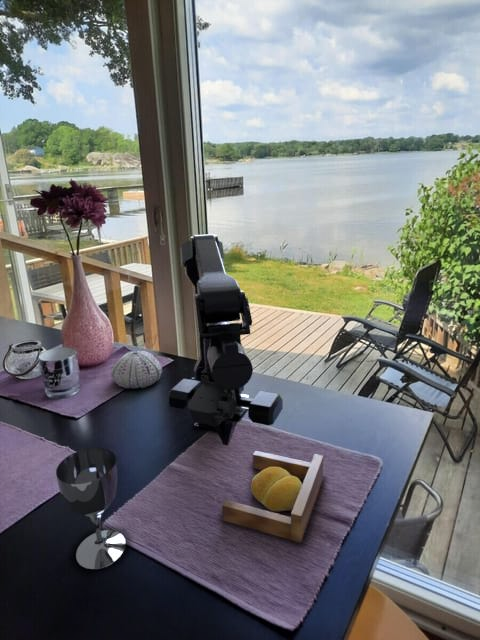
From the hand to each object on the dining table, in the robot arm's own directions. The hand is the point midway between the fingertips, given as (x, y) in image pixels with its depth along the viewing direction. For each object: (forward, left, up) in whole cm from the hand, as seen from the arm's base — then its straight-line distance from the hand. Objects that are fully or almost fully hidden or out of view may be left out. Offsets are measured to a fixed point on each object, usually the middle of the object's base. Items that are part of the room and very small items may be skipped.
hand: (226, 443), depth 76 cm
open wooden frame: (+9, -1, -8) cm, 12 cm away
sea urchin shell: (-39, +29, -8) cm, 49 cm away
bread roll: (+9, 0, -8) cm, 12 cm away
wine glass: (-12, -20, -8) cm, 25 cm away
